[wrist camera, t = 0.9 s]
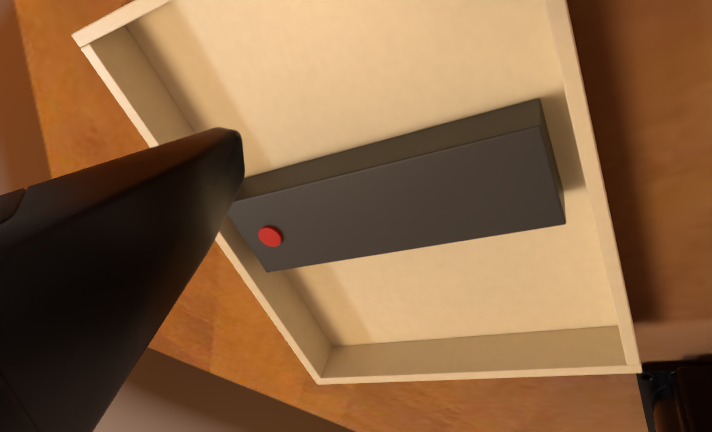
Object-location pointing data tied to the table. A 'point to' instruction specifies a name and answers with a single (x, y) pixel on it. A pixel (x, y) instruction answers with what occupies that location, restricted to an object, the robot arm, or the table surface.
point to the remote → (406, 192)
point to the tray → (377, 123)
